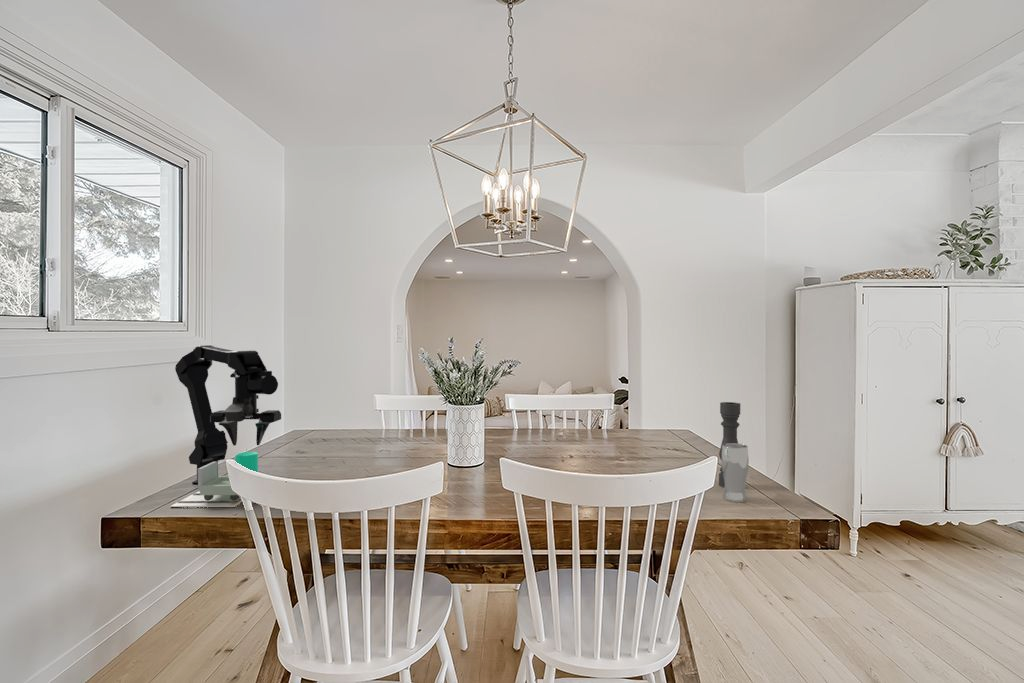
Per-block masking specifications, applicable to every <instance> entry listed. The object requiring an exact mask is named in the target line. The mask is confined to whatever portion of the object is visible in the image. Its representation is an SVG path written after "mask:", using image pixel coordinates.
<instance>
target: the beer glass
mask: <svg viewBox="0 0 1024 683" xmlns="http://www.w3.org/2000/svg"><path fill="white" fill-rule="evenodd" d="M721 467H722V470H723V476H724V483H725V488H724V487H723V488H724V489H723V494H722V498H723V499H724V500H725V501H727V502H733V503H745V502H746V501H747V494H746V481H747V476H748V471H749V446H748V445H746V444H742V443H738V444H737V443H725V444H723V445H722V460H721Z"/></svg>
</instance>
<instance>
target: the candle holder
mask: <svg viewBox="0 0 1024 683" xmlns="http://www.w3.org/2000/svg"><path fill="white" fill-rule="evenodd" d="M719 404H720V406H719V413H720V416H721V418H722V420H723V421H722V422H720V425H721V426H722V435H723V436H722V441H721V445H720V449H719V453H718V456H719V458H720V460H721V461H722V445H723V444H725V443H737V444H739V441H738V427H740V423H739V422H738V420H739V417H740V415H741V403H740V402H729V401H723V402H719ZM718 486H720V487H721V488H725V483H724V476H723V470H722V466H721V467H720V468H719V473H718Z"/></svg>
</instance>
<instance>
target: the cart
mask: <svg viewBox="0 0 1024 683" xmlns="http://www.w3.org/2000/svg"><path fill="white" fill-rule="evenodd" d="M228 476H229V475H218V477H217V462H212V463H209V464H207V465H205V466H203V467H201V468H198V484H197V492H200V495H204V499H205V500H207V501H209V500H211V499H212V498H213V495H230V499H231V500H233V501H235V500H237V499H238V498H239V496H238V495H237V494H236V493H234V492H233V491H232V489H231V485H230V482H229V478H228Z"/></svg>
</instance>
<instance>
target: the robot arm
mask: <svg viewBox="0 0 1024 683" xmlns="http://www.w3.org/2000/svg"><path fill="white" fill-rule="evenodd" d="M213 362H216V363H222V364H225V365H227V367H228V368H230V369H231V370H234V371H233V372H232V373H231V374H230V378H234V388H235V389H234V397H232V403H231V404H230V405H229V406H228V407H227V408H226V409H225V410H216V411H212V406H211V403H210V399H209V394H208V391H207V387H206V382H207V379H208V377H209V370H210V368H211V367H212V366H213ZM174 368H175V372H176V375H177V378H178V380H179V382H180V383H181V384H182V385H183V386H184V387H185V388H187V394H188V397H189V401H190V404H191V409H192V413H193V417H194V422H195V425H196V429H197V434H196V436H195V440H194V442H193V443H194V447H195V448H194V449H193V451H192V452H190V454H189V456H188V462H189V464H190V465H196V480H194V481H191V484H192V483H198V468H201V467H203V466H205V465H207V464H209V463H212V462H217V477H219V461H223V460H225V458H226V454H227V450H228V443H229V441H228V440H227V437H226V436H227V435H226V433H225V431H224V430H219V429H218V428H217V426H216V423H218V425H219V426H222V427H223V428H224V429H225V430H226V432H227V434H228V436H229V439H230V440H231V443H232V446H237V442H238V423H240V422H242V421H243V422H244V420H258V422H256V423H255V427H256V439H255V440H256V446H260V444H261V442H262V440H263V437H264V436H265V433H266V430H267V429H268V427H269V425H270V424H271V423H272V424H273V423H275V422H278V421H280V420H282V412H281V411H280V410H279V409H277V410H274V409H273V410H270V409H269V410H265V411H262V412H259V409H260V408H257V407H258V406H257V405H258V404H257V399H258V400H259V395H269V396H270V395H272V394H274V393H276V391H277V390H278V387H279V382H278V379H277V378H276V376H274V375H273V372H272V370H268V369H267V367H266V365H265V363H264V362H263V360H262V358H261V356H260V354H259V352H258V351H257V350H231V349H226V348H222V347H221V348H220V347H218V346H214V345H206V344H205V345H198V346H196V347H194V348H193V350H191V351H190V352H188V353H187V354H185V355H183V356H182V357H181V358H180V359H179V361H178V362H176V364H175V367H174Z"/></svg>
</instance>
